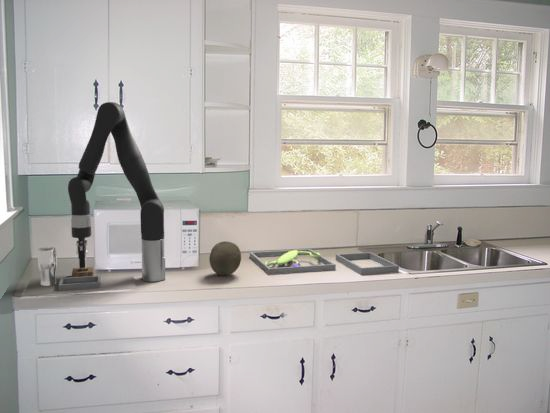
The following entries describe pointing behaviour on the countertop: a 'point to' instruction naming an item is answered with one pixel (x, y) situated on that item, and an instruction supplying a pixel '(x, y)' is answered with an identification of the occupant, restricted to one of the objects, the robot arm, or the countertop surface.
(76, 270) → the pin block
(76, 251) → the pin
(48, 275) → the beer glass
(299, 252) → the figurine
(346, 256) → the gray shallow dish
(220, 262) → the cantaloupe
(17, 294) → the countertop surface
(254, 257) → the grey open box
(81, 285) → the tray
